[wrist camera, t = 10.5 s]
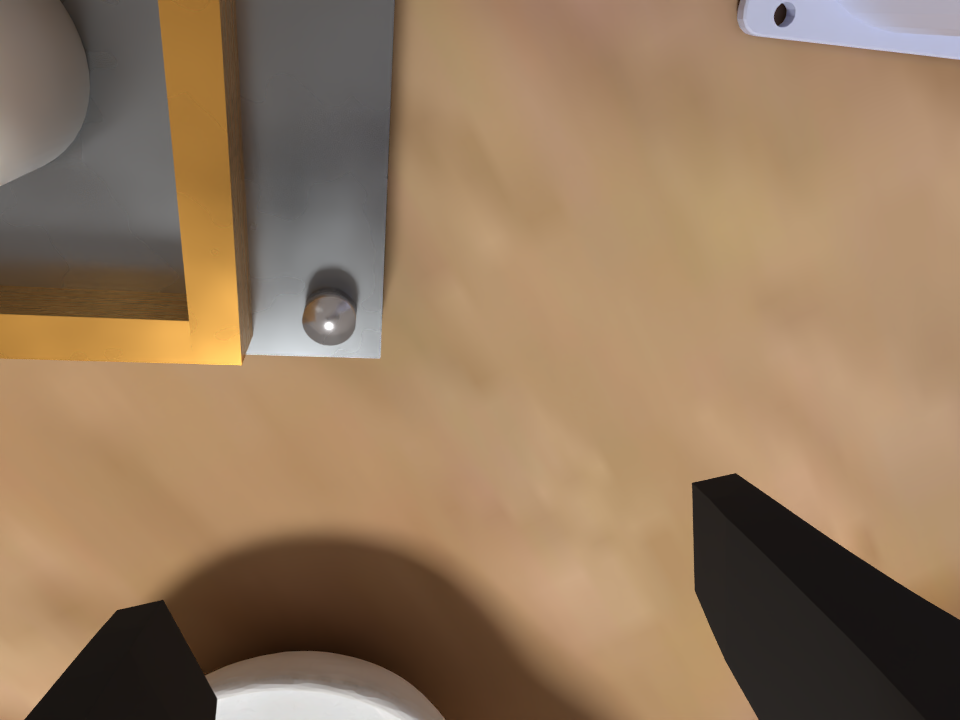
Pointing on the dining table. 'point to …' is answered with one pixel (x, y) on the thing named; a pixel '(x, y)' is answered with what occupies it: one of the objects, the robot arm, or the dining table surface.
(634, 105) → the dining table surface
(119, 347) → the grey fixture plate
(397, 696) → the spoon rest
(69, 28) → the lidded can
